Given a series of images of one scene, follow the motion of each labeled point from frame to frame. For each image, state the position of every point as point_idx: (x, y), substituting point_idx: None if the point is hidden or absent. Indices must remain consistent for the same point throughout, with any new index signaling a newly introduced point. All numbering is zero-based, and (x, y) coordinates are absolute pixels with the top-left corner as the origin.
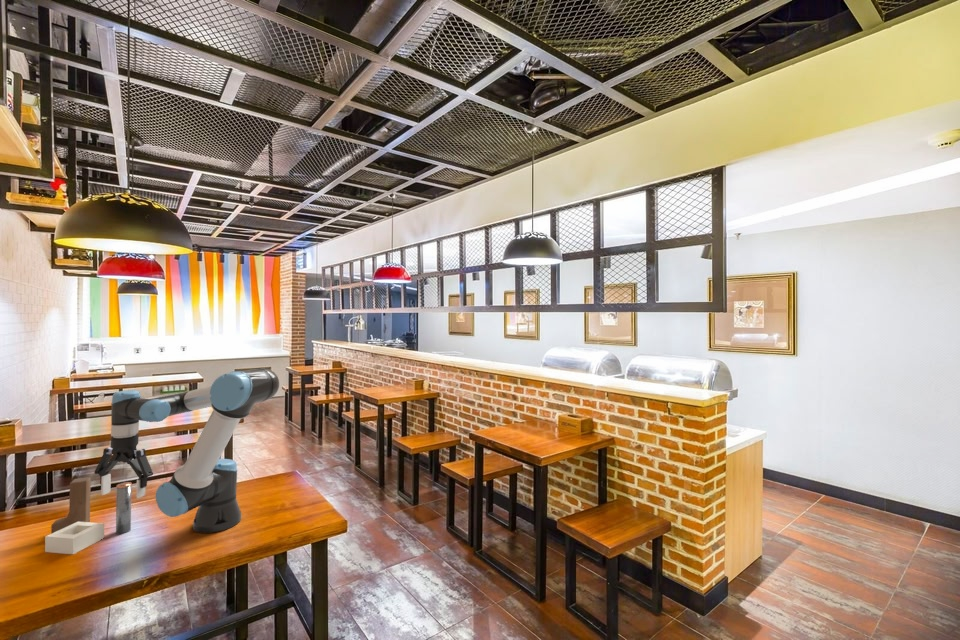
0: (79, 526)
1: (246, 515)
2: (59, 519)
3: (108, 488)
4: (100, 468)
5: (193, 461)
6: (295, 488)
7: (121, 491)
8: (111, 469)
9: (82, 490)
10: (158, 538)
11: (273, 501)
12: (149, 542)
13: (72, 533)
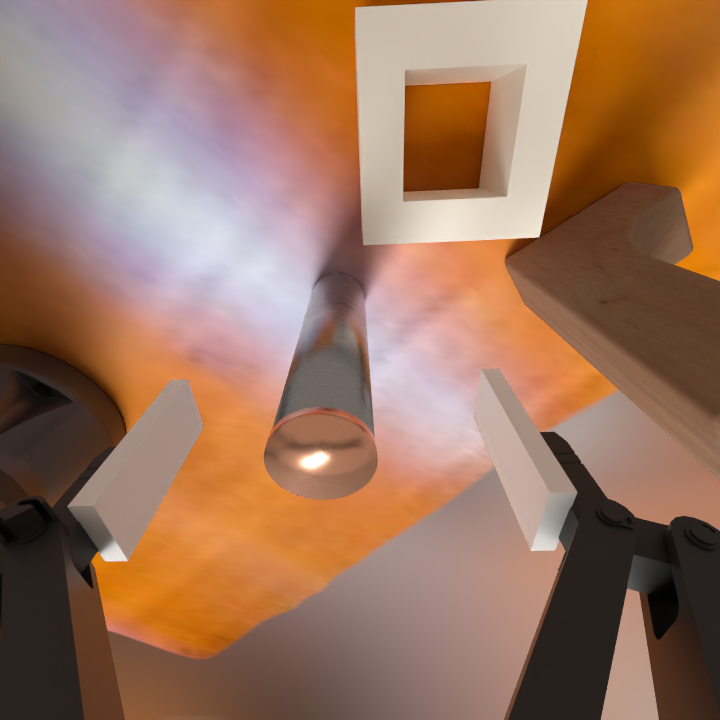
0: (487, 196)
1: None
2: (675, 246)
3: (486, 428)
4: (682, 604)
5: None
6: None
7: (297, 394)
8: (545, 607)
9: (672, 351)
10: (117, 274)
11: None
12: (113, 235)
13: (497, 165)
